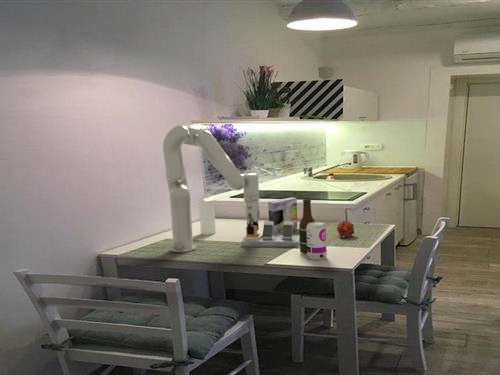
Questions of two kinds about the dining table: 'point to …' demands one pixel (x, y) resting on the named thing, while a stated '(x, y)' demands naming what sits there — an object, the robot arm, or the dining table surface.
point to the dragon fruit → (345, 229)
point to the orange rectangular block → (254, 232)
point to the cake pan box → (282, 213)
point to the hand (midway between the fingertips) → (253, 232)
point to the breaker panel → (270, 241)
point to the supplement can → (316, 241)
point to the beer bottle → (305, 225)
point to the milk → (207, 215)
